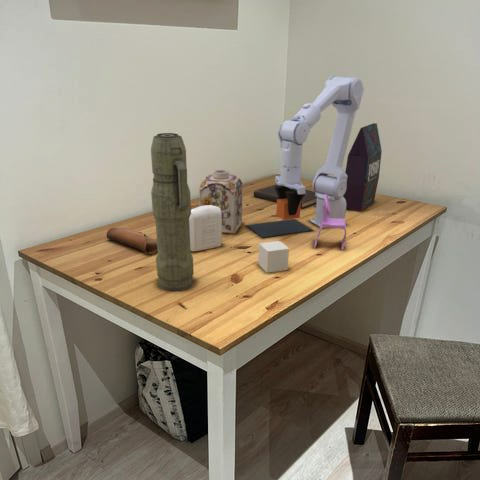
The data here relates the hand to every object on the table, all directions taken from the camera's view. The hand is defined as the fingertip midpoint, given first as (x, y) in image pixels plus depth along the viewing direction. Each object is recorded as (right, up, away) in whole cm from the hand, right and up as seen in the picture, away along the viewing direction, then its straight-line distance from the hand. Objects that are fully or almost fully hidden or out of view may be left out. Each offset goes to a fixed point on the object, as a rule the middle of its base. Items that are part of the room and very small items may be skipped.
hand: (288, 212), depth 145 cm
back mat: (-2, -3, +12) cm, 13 cm away
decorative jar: (-20, -2, +13) cm, 24 cm away
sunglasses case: (-45, -10, -2) cm, 46 cm away
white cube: (-6, -18, -15) cm, 24 cm away
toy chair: (+12, -10, 0) cm, 16 cm away
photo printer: (-25, -11, -3) cm, 27 cm away
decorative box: (+30, +11, +37) cm, 48 cm away
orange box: (0, -1, +1) cm, 1 cm away
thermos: (-30, -23, -24) cm, 45 cm away
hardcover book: (+5, +15, +43) cm, 46 cm away
